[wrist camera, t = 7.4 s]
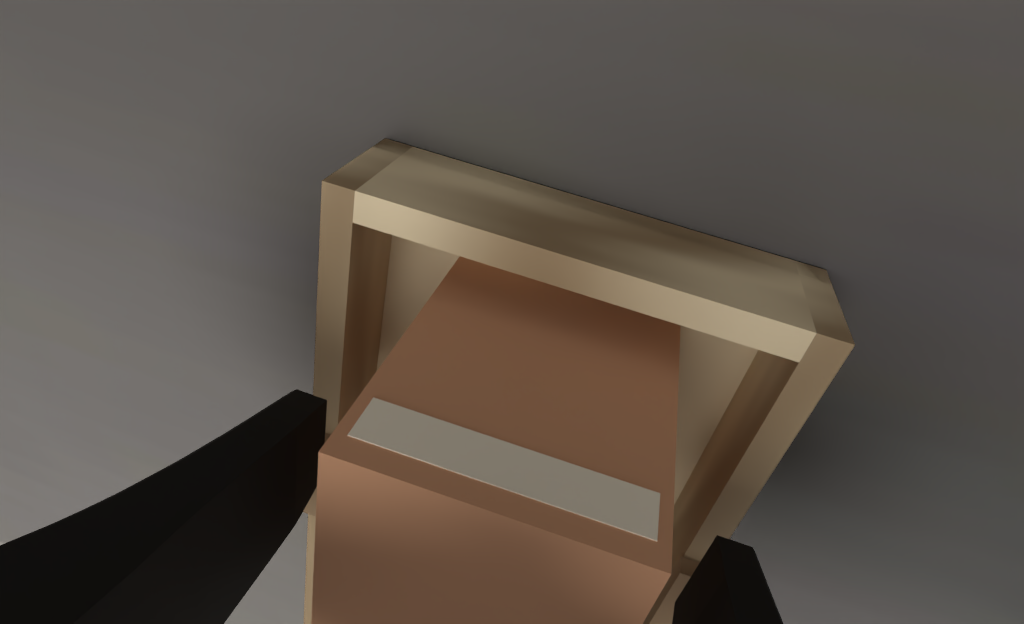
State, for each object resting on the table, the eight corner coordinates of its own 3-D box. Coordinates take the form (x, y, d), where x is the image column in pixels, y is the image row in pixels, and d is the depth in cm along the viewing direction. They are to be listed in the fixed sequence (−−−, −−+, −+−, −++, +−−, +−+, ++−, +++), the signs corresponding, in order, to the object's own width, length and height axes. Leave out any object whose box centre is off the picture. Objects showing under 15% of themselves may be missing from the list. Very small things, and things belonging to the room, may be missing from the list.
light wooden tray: (828, 270, 12) (863, 361, 9) (610, 652, 20) (598, 756, 17) (382, 137, 13) (306, 188, 10) (342, 554, 21) (294, 640, 18)
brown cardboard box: (611, 478, 15) (570, 746, 10) (432, 419, 16) (310, 647, 11) (680, 317, 12) (672, 573, 8) (463, 250, 13) (317, 450, 8)
